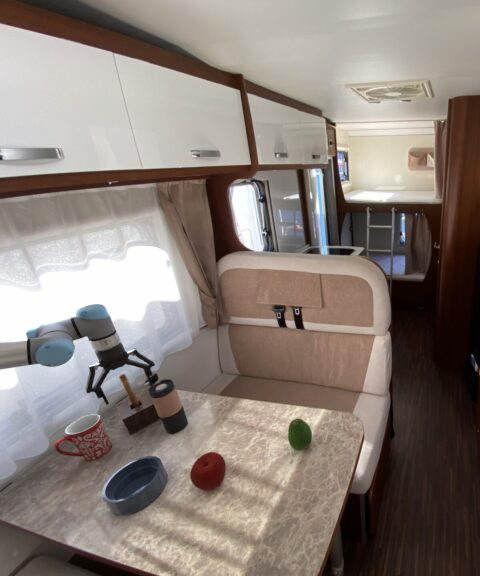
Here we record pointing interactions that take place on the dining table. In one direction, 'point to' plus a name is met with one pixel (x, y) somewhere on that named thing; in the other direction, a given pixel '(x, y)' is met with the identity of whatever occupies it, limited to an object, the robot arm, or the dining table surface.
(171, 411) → the travel mug
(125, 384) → the stick
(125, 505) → the bowl
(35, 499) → the dining table surface
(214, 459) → the apple
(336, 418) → the dining table surface
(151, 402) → the holder
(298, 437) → the fruit
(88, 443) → the mug
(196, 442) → the dining table surface
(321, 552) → the dining table surface
